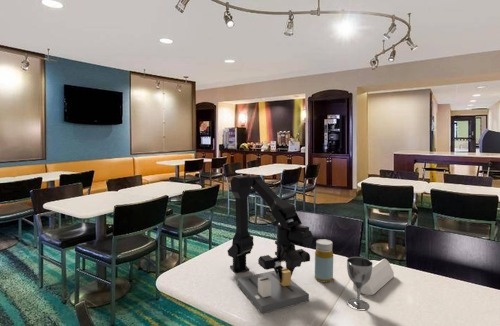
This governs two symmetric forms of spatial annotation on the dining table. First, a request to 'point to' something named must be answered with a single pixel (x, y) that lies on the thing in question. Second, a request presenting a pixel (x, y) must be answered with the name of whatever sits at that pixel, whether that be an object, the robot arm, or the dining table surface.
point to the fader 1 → (264, 286)
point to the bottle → (324, 260)
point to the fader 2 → (286, 277)
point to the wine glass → (359, 278)
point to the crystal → (377, 278)
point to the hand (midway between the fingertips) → (284, 281)
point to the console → (272, 292)
